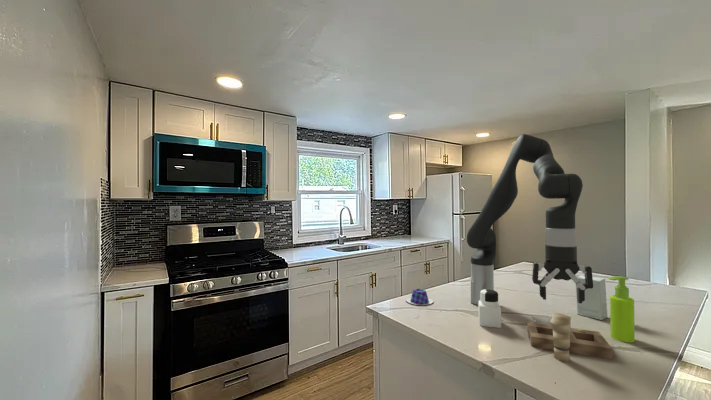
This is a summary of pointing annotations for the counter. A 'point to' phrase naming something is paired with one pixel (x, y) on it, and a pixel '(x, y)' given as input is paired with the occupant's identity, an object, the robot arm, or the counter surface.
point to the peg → (561, 336)
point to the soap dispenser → (622, 312)
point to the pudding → (419, 297)
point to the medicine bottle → (489, 309)
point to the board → (571, 340)
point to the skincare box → (593, 299)
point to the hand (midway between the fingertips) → (561, 300)
